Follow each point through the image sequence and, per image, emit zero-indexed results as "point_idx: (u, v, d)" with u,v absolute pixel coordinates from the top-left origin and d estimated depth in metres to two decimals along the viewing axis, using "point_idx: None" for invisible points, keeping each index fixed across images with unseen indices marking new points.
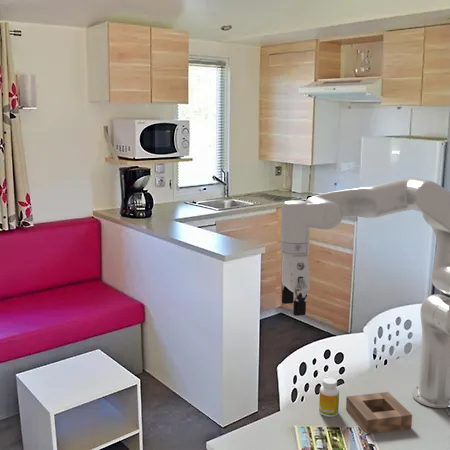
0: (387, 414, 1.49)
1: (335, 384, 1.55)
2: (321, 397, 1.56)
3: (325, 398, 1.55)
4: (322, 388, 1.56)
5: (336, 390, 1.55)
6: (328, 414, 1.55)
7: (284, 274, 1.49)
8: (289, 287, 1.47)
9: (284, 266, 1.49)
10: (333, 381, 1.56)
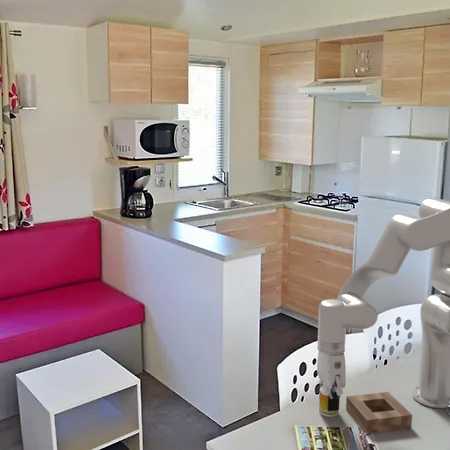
0: (387, 414, 1.49)
1: None
2: (321, 397, 1.56)
3: (325, 398, 1.55)
4: (322, 388, 1.56)
5: None
6: (328, 414, 1.55)
7: (320, 369, 1.56)
8: (326, 383, 1.53)
9: (321, 361, 1.55)
10: None
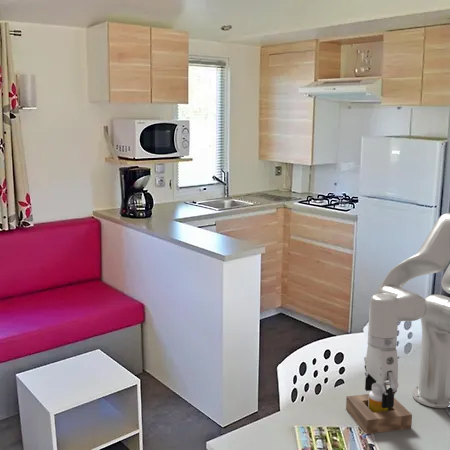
0: (387, 414, 1.49)
1: None
2: (371, 403, 1.53)
3: (375, 404, 1.52)
4: (371, 393, 1.53)
5: None
6: None
7: (370, 365, 1.52)
8: (377, 379, 1.49)
9: (371, 357, 1.52)
10: None
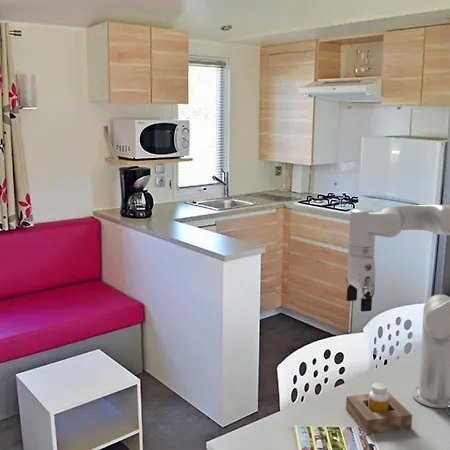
0: (387, 414, 1.49)
1: (385, 389, 1.52)
2: (371, 403, 1.53)
3: (375, 404, 1.52)
4: (372, 393, 1.53)
5: (386, 395, 1.52)
6: None
7: (351, 274, 1.67)
8: (356, 286, 1.64)
9: (351, 267, 1.66)
10: (383, 386, 1.53)
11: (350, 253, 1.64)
